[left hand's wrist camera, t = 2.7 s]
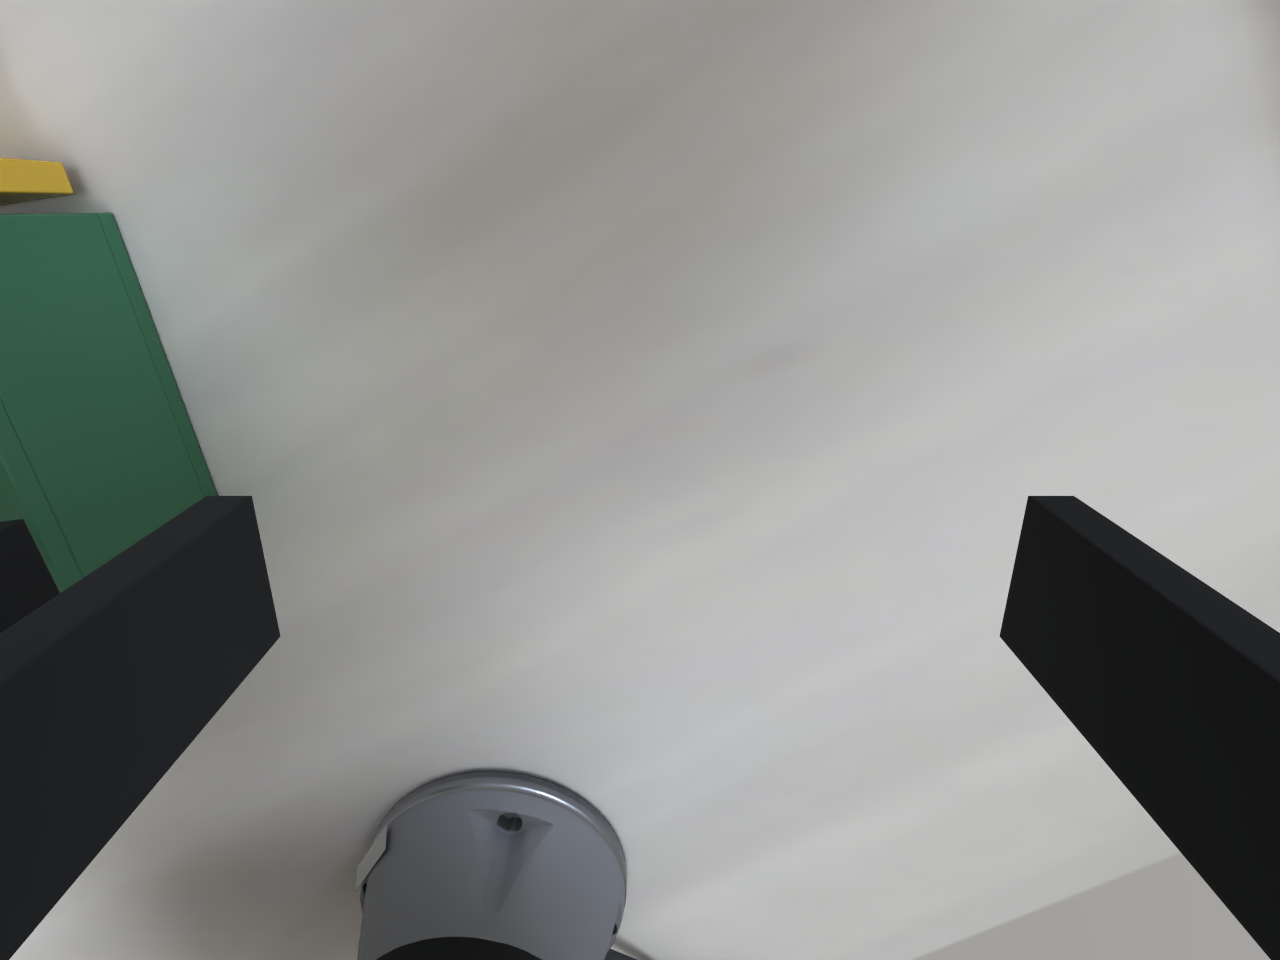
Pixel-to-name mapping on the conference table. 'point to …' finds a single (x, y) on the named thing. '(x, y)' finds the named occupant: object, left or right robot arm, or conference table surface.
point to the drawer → (31, 180)
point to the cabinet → (86, 397)
